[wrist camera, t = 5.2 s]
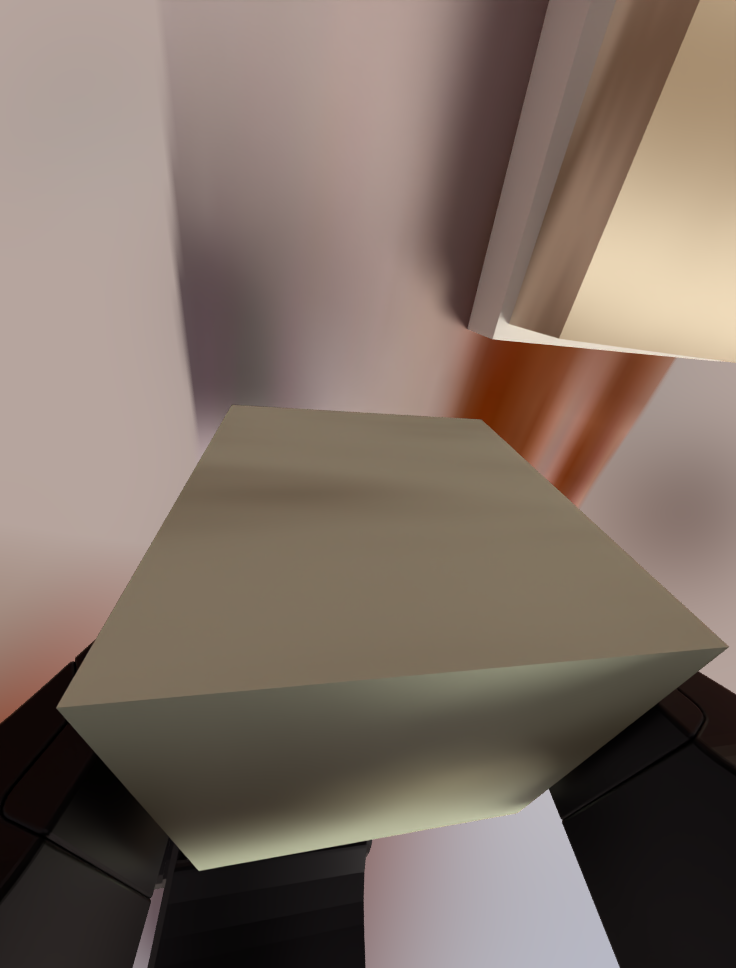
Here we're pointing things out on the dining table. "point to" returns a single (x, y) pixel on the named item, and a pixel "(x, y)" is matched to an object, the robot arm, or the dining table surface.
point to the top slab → (646, 191)
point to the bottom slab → (540, 165)
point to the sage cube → (368, 638)
